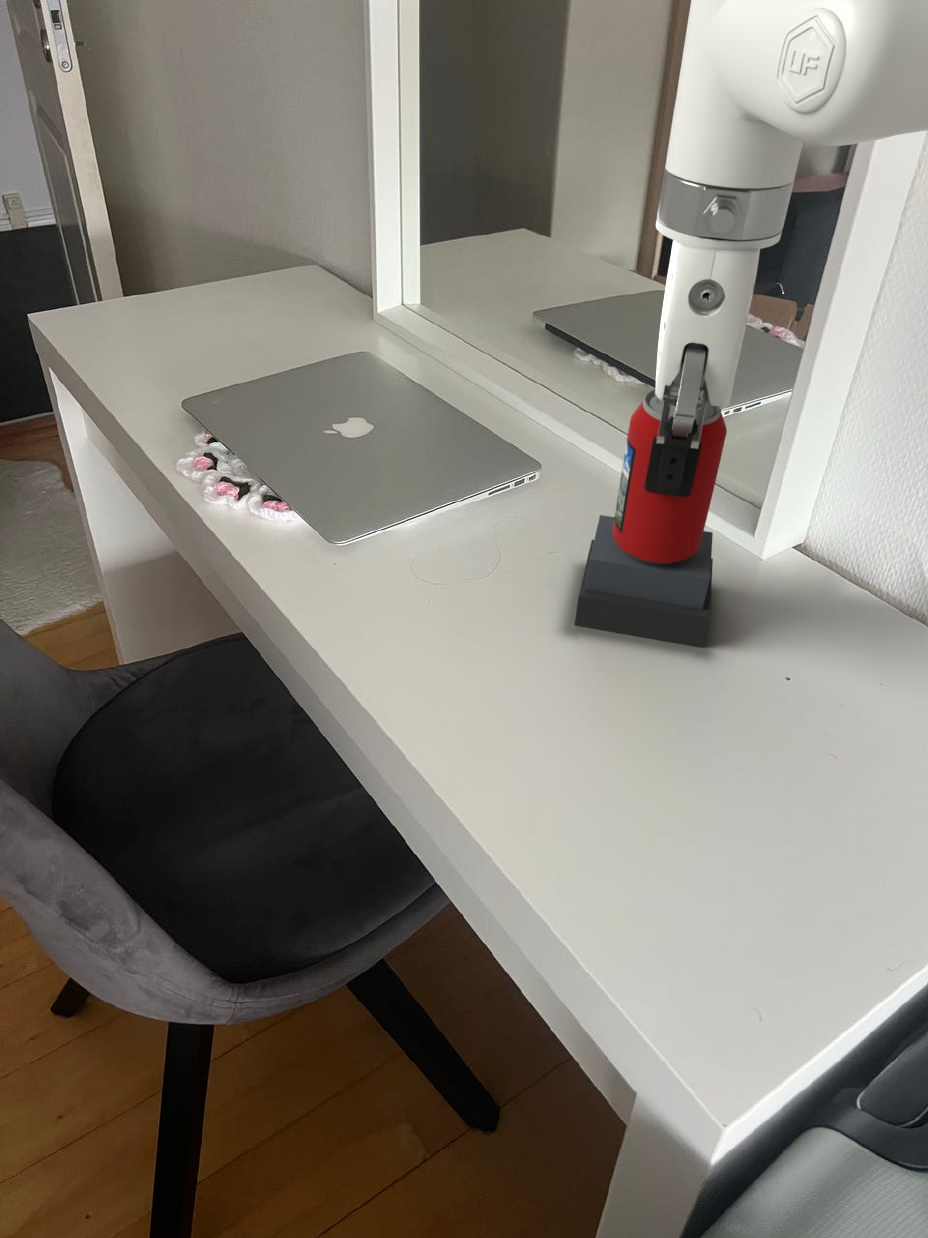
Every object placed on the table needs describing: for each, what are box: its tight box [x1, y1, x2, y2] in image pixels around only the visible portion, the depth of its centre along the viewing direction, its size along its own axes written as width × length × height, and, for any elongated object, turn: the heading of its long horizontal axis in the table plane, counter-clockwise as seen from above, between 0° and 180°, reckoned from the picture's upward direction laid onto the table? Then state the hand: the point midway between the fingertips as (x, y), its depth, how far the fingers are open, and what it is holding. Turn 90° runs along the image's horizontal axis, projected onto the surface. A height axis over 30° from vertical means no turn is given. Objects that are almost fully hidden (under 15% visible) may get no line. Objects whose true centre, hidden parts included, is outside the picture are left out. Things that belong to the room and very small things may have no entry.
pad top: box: [585, 514, 714, 610], centre depth 72 cm, size 9×6×3 cm
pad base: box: [573, 539, 714, 648], centre depth 74 cm, size 10×8×3 cm
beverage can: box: [613, 386, 728, 564], centre depth 67 cm, size 7×7×12 cm
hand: (670, 464), depth 66 cm, fingers closed on beverage can, 6 cm apart
